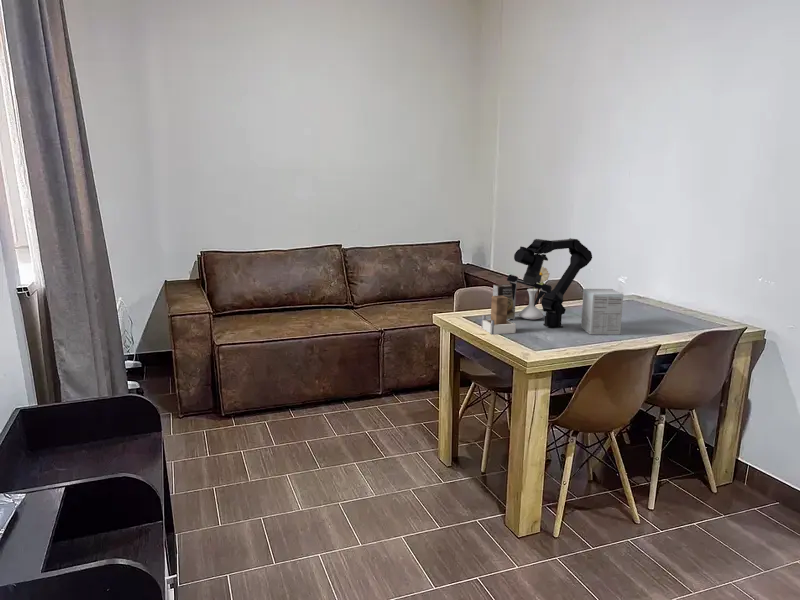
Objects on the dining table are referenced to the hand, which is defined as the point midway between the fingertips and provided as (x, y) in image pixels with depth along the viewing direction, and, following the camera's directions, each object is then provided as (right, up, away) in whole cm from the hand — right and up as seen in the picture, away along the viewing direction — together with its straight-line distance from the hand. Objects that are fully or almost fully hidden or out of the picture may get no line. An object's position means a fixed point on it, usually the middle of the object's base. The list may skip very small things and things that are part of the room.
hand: (523, 303), depth 257 cm
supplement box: (+34, -12, +3) cm, 36 cm away
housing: (-10, -12, +2) cm, 16 cm away
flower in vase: (+9, -8, +25) cm, 28 cm away
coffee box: (-5, -8, +24) cm, 26 cm away
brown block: (-10, -11, +2) cm, 15 cm away
